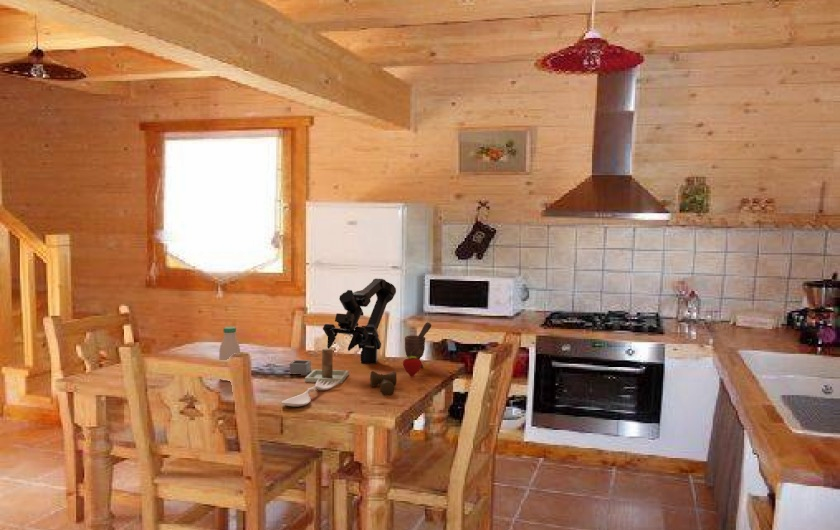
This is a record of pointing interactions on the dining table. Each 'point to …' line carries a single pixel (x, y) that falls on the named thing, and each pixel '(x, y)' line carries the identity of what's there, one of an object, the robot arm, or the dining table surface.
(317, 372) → the sage tray
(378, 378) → the kendama
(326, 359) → the walnut dowel
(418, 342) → the mortar and pestle
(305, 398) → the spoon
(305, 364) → the stoneware holder
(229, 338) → the milk bottle
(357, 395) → the dining table surface
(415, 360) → the strawberry
